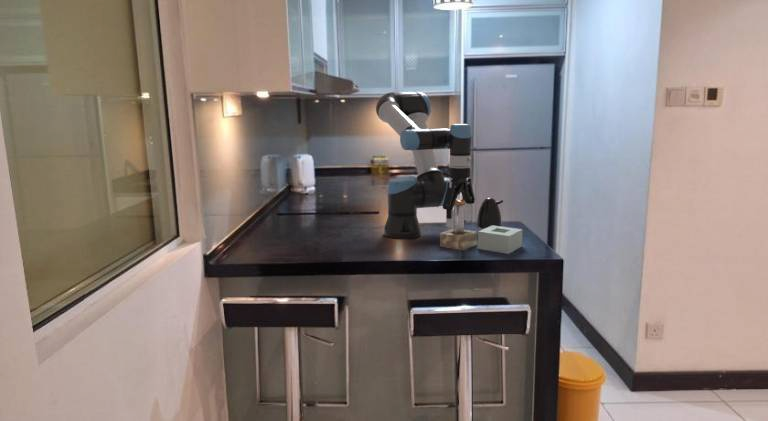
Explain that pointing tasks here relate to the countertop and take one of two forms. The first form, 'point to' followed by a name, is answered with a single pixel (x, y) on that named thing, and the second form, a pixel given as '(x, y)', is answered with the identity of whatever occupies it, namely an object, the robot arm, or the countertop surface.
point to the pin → (459, 217)
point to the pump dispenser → (489, 214)
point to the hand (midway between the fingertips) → (459, 223)
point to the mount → (458, 239)
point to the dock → (500, 239)
